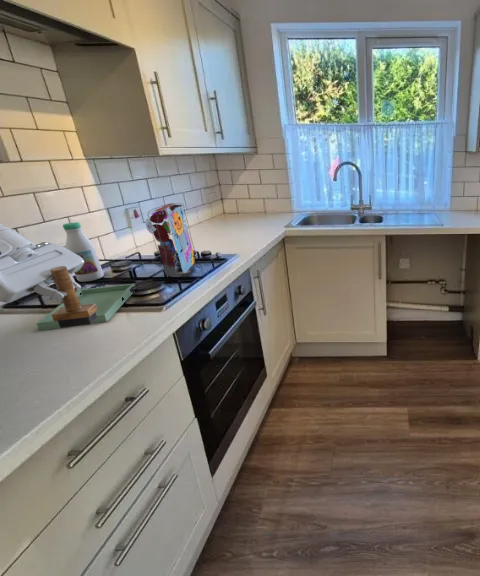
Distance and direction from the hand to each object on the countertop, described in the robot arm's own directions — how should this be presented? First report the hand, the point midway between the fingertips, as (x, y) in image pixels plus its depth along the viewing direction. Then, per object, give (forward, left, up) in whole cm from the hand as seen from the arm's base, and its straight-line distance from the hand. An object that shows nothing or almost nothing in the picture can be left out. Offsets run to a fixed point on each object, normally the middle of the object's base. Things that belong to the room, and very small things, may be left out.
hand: (70, 293), depth 82 cm
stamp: (-1, 0, -7) cm, 7 cm away
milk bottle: (-21, +54, -14) cm, 60 cm away
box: (+10, +44, -14) cm, 47 cm away
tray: (-9, +25, -14) cm, 30 cm away
